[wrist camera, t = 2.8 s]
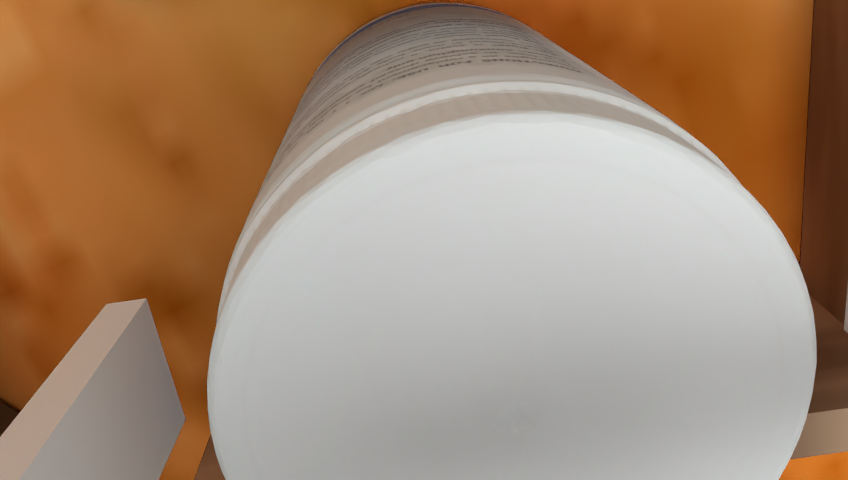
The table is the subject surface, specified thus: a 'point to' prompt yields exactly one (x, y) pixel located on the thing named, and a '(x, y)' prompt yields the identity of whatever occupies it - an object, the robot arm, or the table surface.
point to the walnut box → (804, 238)
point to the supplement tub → (501, 279)
